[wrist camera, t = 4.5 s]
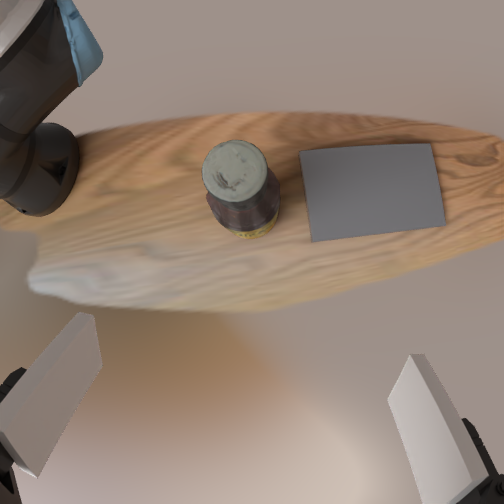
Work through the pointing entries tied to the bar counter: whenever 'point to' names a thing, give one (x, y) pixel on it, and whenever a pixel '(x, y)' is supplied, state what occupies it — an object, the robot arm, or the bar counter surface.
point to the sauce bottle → (241, 188)
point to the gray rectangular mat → (370, 190)
